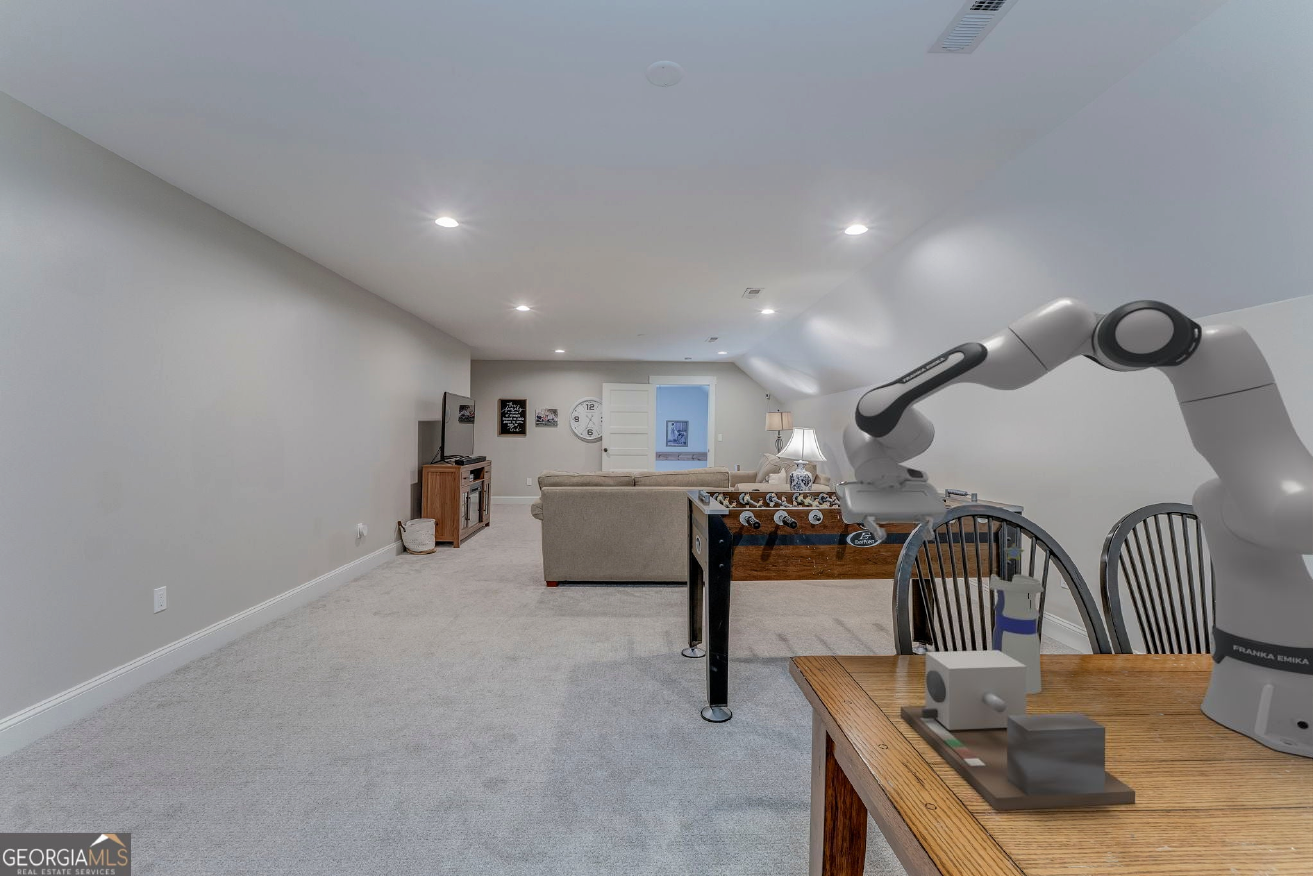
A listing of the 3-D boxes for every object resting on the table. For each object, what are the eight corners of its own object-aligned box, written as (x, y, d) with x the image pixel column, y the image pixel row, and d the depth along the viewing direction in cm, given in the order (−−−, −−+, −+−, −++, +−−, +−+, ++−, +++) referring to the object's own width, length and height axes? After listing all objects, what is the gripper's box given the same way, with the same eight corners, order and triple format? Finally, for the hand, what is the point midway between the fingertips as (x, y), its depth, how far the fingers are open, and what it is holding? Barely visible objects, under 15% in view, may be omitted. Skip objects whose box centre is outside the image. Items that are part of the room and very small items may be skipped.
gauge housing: (912, 709, 85) (912, 652, 85) (997, 706, 86) (997, 650, 86) (944, 740, 77) (945, 676, 77) (1039, 736, 78) (1039, 673, 78)
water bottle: (977, 673, 103) (978, 542, 103) (1023, 674, 103) (1024, 542, 102) (1003, 693, 95) (1004, 551, 94) (1053, 694, 94) (1054, 551, 94)
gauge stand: (900, 715, 87) (900, 657, 87) (1006, 711, 88) (1006, 654, 88) (996, 810, 65) (996, 732, 65) (1135, 803, 67) (1135, 726, 66)
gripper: (836, 471, 109) (858, 529, 99) (933, 472, 111) (964, 528, 101) (827, 491, 113) (847, 548, 104) (921, 491, 115) (948, 547, 105)
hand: (905, 538), depth 102 cm, fingers open, 8 cm apart
